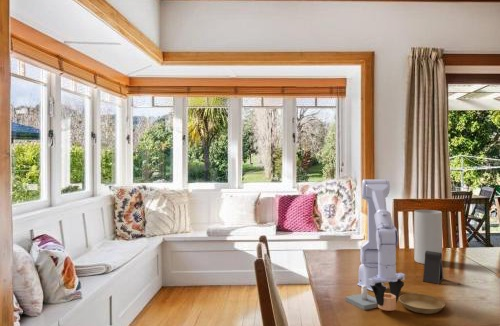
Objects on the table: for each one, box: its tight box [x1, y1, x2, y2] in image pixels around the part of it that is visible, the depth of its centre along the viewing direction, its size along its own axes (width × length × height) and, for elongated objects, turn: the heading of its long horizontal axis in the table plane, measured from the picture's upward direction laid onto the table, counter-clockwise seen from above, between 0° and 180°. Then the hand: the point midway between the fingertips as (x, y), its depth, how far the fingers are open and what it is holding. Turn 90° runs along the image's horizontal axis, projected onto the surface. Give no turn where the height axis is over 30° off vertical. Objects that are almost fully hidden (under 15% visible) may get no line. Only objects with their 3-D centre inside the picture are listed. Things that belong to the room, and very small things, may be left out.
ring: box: [377, 292, 397, 311], centre depth 137 cm, size 6×6×4 cm
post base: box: [345, 285, 379, 311], centre depth 145 cm, size 10×9×6 cm
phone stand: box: [422, 251, 445, 285], centre depth 170 cm, size 9×6×12 cm, turn 141°
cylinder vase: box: [413, 209, 443, 265], centre depth 200 cm, size 12×12×25 cm
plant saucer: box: [398, 293, 446, 315], centre depth 140 cm, size 15×15×3 cm
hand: (387, 303), depth 137 cm, fingers closed on ring, 6 cm apart
